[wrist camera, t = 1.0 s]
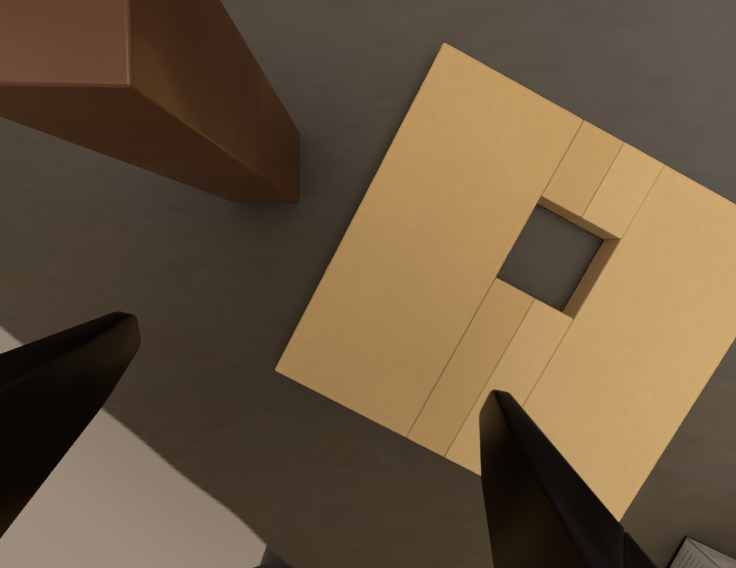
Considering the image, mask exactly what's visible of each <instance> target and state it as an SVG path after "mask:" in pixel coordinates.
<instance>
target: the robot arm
mask: <svg viewBox="0 0 736 568" xmlns="http://www.w3.org/2000/svg"><path fill="white" fill-rule="evenodd" d="M140 343H141V338H140V333H139V328H138V322H137V318H136V317H135V316H134V315H133V314H129V313H124V312H113V313H110V314H108V315H105V316H102V317H100V318H97V319H94V320H91V321H89V322H86V323H83V324H81V325H78V326H75V327H72V328H70V329H67V330H64V331H62V332H59V333H56V334H53V335H51V336H48V337H45V338H43V339H40V340H37V341H34V342H32V343H29V344H26V345H23V346H21V347H18V348H15V349H13V350H10V351H7V352H4V353H2V354H0V538H1V537H2V536H3V534H4V533H5V532H6V530H7V529H8V528H9V527H10V525H11V524H12V523H13V521H14V520H15V518H17V516H18V515H19V514H20V512H21V511H22V510H23V508H24V507H25V506H26V505H27V503H28V502H29V501H30V499H31V498H32V497H33V496H34V494H35V493H36V492H37V490H38V489H39V488H40V486H41V485H42V484H43V483H44V481H45V480H46V479H47V477H48V476H49V475H50V473H51V472H52V471H53V469H54V468H55V467H56V466H57V464H58V463H59V462H60V460H61V459H62V458H63V456H64V455H65V454H66V453H67V451H68V450H69V448H71V446H72V445H73V444H74V442H75V441H76V440H77V438H78V437H79V436H80V435H81V433H82V432H83V431H84V429H85V428H86V427H87V425H88V424H89V423H90V422H91V420H92V419H93V418H94V416H95V415H96V414H97V413H98V411H99V410H100V408H101V407H102V406H103V404H104V403H105V402H106V400H107V399H108V397H109V396H110V394H111V393H112V391H113V389H114V388H115V386H116V385H117V383H118V381H119V380H120V378H121V376H122V375H123V373H124V372H125V370H126V368H127V367H128V365H129V364H130V362H131V360H132V359H133V357H134V355H135V354H136V352H137V351H138V349H139V347H140ZM479 435H480V462H481V480H482V488H483V495H484V502H485V509H486V516H487V523H488V529H489V536H490V543H491V550H492V557H493V564H494V568H658V567H657V566H656V565H655V564H654V563H653V562H652V560H651V559H650V558H649V557H648V556H647V555H646V554H645V552H644V551H643V550H642V549H641V548H640V547H639V545H638V544H637V543H636V542H635V541H634V539H633V538H632V537H631V536H630V535H629V533H627V532H624V528H623V527H622V525H621V524H620V523H619V522H618V521H617V519H616V518H615V517H614V516H613V515H612V513H611V512H610V511H609V510H608V509H607V508H606V506H605V505H604V504H603V503H602V502H601V500H600V499H599V498H598V497H597V496H596V494H595V493H594V492H593V491H592V490H591V489H590V487H589V486H588V485H587V484H586V483H585V481H584V480H583V479H582V478H581V477H580V475H579V474H578V473H577V472H576V471H575V470H574V468H573V467H572V466H571V465H570V464H569V462H568V461H567V460H566V459H565V458H564V456H563V455H562V454H561V453H560V452H559V451H558V449H557V448H556V447H555V446H554V445H553V443H552V442H551V441H550V440H549V439H548V437H547V436H546V435H545V434H544V433H543V432H542V430H541V429H540V428H539V427H538V426H537V424H536V423H535V422H534V421H533V420H532V418H531V417H530V416H529V415H528V414H527V413H526V411H525V410H524V409H523V408H522V407H521V405H520V404H519V403H518V402H517V401H516V400H515V398H514V397H513V396H512V395H511V394H510V393H509V392H506V391H501V390H497V389H493V390H491V391H490V393H489V395H488V397H487V399H486V400H485V402H484V404H483V406H482V408H481V410H480V414H479Z"/></svg>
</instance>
